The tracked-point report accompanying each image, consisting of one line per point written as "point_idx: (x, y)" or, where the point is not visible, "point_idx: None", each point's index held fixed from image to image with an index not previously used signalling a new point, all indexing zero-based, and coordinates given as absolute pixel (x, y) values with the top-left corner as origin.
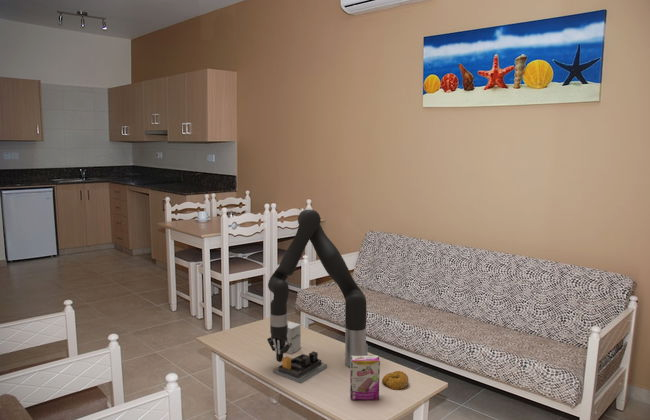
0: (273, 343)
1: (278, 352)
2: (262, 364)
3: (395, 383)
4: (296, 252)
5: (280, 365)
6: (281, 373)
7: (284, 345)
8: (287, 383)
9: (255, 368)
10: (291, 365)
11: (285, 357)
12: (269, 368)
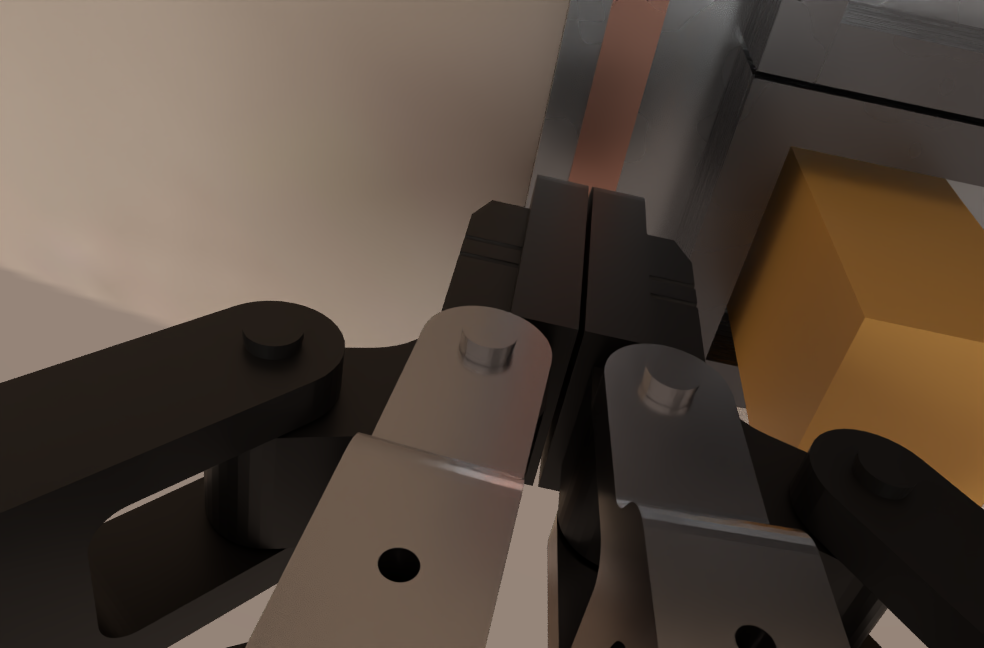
0: (35, 616)
1: (571, 562)
2: (42, 48)
3: None
4: None
5: (558, 101)
6: None
7: (827, 645)
8: None
9: (84, 267)
10: (972, 181)
11: (850, 414)
12: (319, 159)
